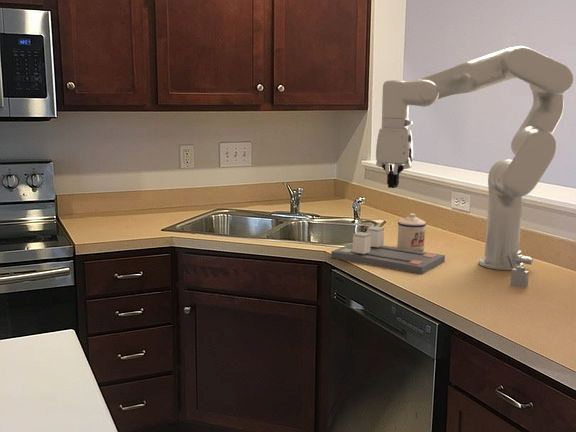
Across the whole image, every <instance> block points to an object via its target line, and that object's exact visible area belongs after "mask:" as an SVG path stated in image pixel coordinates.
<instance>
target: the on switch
mask: <svg viewBox="0 0 576 432" xmlns="http://www.w3.org/2000/svg"><path fill="white" fill-rule="evenodd" d="M366 233H370V234H371V247H380V246H383V245H384V238H385V237H384V236H385V228H384V227H381V226H380V227H379V226H369V227H368V228H366Z"/></svg>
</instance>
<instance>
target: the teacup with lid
mask: <svg viewBox="0 0 576 432" xmlns="http://www.w3.org/2000/svg"><path fill="white" fill-rule="evenodd" d="M426 223H427V222H426V220H423V219H421V218H419V217H417V216H416V213H409V215H408V216H406V217H404V218H402V219H398V221H397V224H398V226H397V227H398V228H397V244H396V245H397V246H396V248H402V249H408V250H415V251H421V252H423V250H424V249H425V237H426V236H425V235H426V225H427V224H426Z"/></svg>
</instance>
